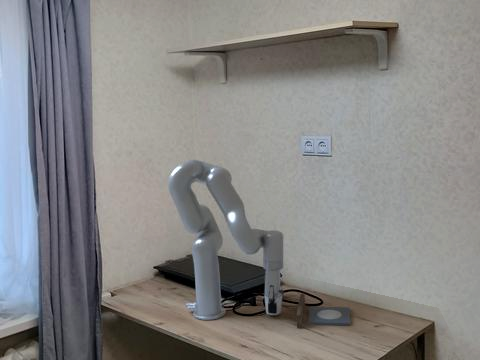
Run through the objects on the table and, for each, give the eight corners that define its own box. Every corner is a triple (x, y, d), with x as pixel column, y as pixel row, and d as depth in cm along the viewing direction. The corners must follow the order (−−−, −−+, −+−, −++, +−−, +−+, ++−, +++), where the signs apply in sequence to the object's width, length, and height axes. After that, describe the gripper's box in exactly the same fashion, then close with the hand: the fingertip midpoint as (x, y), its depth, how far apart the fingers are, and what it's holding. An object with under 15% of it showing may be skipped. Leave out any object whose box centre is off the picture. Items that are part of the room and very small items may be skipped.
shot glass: (270, 307, 209) (270, 290, 208) (285, 311, 205) (285, 293, 204) (260, 313, 204) (260, 295, 203) (276, 317, 200) (276, 299, 199)
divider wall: (296, 328, 192) (296, 315, 191) (300, 305, 214) (300, 293, 213) (301, 328, 192) (301, 315, 191) (305, 305, 213) (304, 293, 213)
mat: (308, 324, 195) (308, 321, 195) (310, 309, 210) (310, 306, 209) (350, 325, 192) (350, 323, 192) (349, 310, 207) (349, 307, 207)
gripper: (266, 256, 211) (266, 300, 213) (260, 270, 194) (260, 318, 197) (285, 257, 209) (285, 301, 212) (280, 271, 193) (281, 319, 195)
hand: (273, 309), depth 204 cm, fingers closed on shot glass, 6 cm apart
